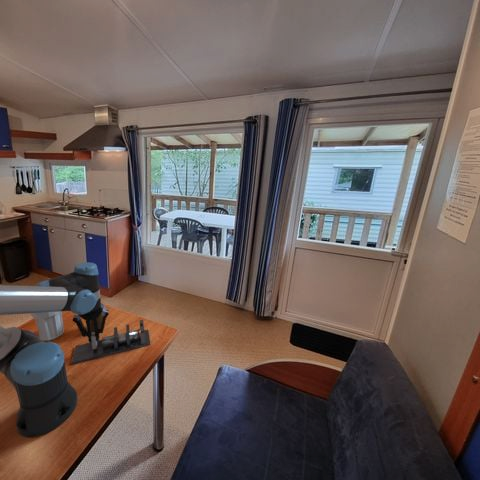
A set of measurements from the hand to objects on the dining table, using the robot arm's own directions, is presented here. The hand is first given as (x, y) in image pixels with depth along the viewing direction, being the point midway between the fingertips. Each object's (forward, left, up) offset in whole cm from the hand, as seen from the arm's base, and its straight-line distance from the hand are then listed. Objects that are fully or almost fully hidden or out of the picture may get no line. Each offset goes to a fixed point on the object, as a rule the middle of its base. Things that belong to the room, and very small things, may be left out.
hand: (94, 346), depth 97 cm
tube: (0, -11, -1) cm, 11 cm away
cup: (+18, +19, -2) cm, 26 cm away
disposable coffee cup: (+16, +1, -2) cm, 16 cm away
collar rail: (0, -7, -2) cm, 8 cm away
